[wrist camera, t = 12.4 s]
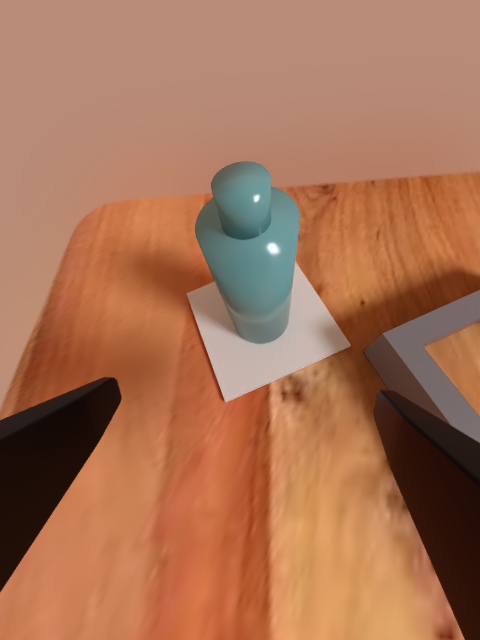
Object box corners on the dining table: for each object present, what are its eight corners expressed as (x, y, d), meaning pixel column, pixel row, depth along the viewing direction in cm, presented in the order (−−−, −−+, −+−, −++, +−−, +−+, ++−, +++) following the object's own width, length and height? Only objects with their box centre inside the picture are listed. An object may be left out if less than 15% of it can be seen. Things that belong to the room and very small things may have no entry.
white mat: (226, 402, 19) (225, 401, 19) (187, 295, 24) (186, 293, 23) (349, 347, 20) (351, 345, 19) (287, 252, 24) (288, 250, 24)
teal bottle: (267, 355, 20) (255, 248, 8) (221, 324, 22) (155, 200, 10) (299, 309, 21) (329, 160, 9) (253, 284, 23) (229, 131, 11)
